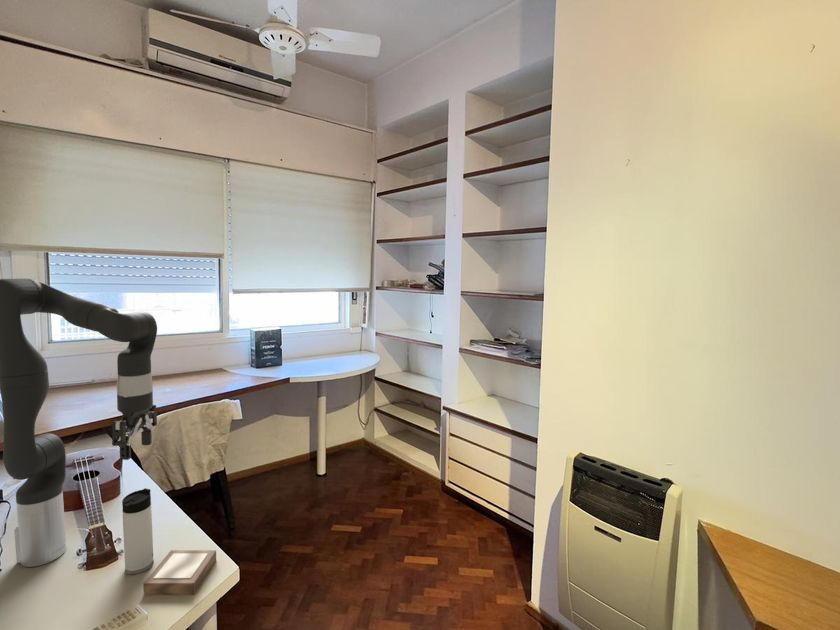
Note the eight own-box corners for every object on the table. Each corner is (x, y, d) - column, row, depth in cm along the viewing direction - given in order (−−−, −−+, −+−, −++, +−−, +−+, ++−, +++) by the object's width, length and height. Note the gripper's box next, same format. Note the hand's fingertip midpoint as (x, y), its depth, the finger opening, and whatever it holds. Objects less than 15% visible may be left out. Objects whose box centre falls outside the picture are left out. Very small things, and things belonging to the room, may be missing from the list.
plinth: (143, 594, 101) (143, 582, 101) (171, 560, 113) (170, 549, 112) (194, 594, 101) (193, 582, 101) (216, 560, 113) (216, 549, 113)
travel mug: (160, 560, 113) (157, 490, 111) (137, 577, 107) (134, 503, 105) (142, 555, 115) (139, 486, 113) (119, 571, 108) (115, 498, 106)
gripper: (137, 382, 113) (138, 440, 114) (99, 398, 99) (101, 464, 100) (166, 383, 113) (166, 441, 115) (132, 399, 99) (133, 464, 101)
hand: (136, 451), depth 108 cm, fingers open, 8 cm apart
